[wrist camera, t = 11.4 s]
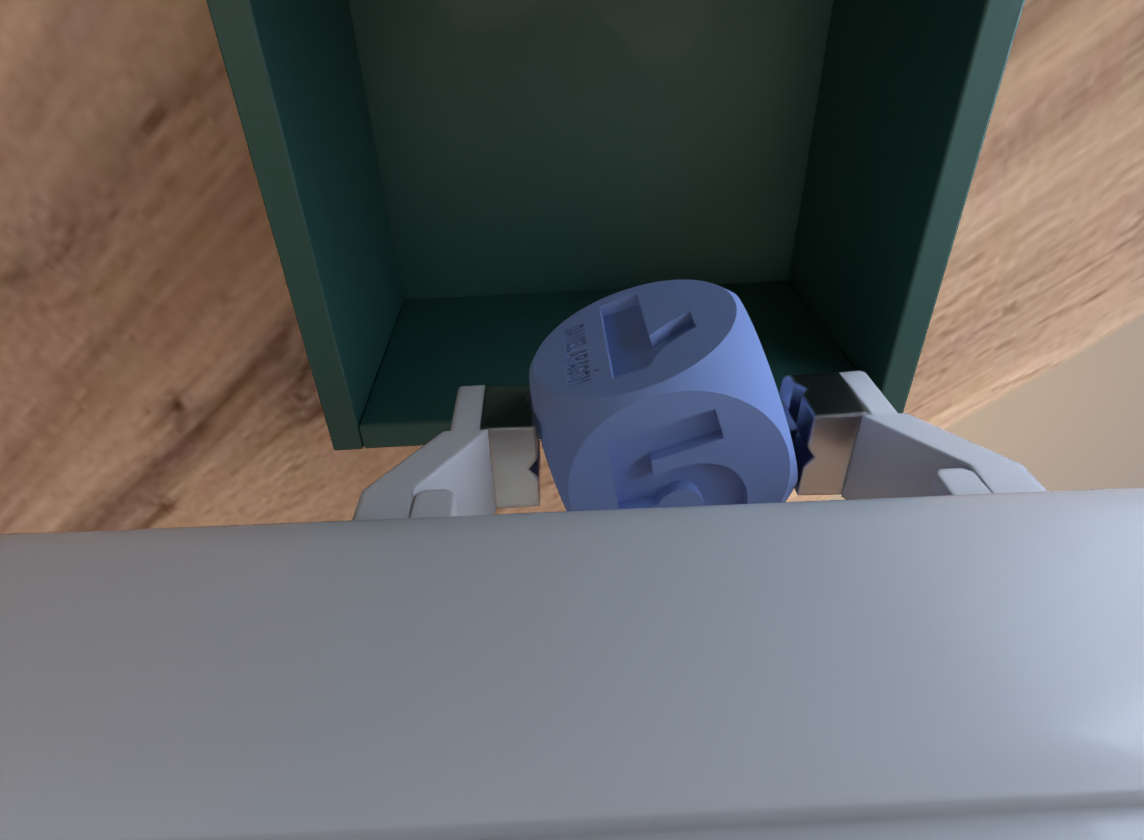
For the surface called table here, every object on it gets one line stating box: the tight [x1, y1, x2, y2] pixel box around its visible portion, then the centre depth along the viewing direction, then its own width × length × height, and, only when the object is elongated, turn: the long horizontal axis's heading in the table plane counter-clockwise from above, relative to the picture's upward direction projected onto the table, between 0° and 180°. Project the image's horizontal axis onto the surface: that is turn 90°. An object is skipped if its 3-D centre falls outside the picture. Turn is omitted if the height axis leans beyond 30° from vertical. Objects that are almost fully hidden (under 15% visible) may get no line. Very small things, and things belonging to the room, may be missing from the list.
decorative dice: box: [529, 279, 798, 511], centre depth 13 cm, size 4×4×4 cm
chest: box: [206, 0, 1025, 450], centre depth 18 cm, size 14×16×9 cm
